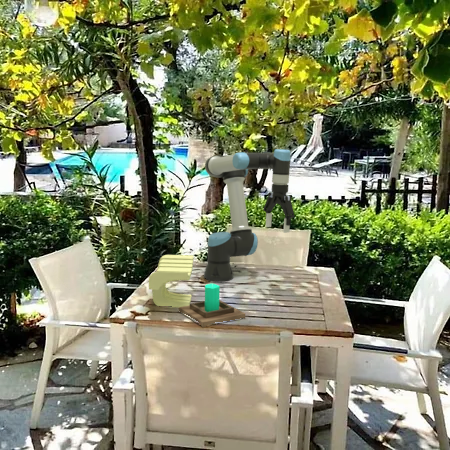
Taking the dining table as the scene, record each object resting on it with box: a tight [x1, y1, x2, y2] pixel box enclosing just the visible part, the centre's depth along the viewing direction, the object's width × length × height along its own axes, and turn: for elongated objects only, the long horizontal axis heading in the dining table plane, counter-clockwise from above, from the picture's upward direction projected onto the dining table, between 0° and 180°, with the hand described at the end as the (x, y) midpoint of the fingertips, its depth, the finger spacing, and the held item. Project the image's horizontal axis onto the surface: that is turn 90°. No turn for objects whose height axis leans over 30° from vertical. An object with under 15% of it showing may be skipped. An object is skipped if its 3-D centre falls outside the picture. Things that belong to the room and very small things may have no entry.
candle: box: [204, 281, 221, 312], centre depth 210 cm, size 6×6×12 cm
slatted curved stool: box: [148, 254, 195, 308], centre depth 225 cm, size 30×16×18 cm, turn 179°
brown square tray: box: [178, 299, 246, 328], centre depth 211 cm, size 20×20×4 cm
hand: (277, 229), depth 236 cm, fingers open, 13 cm apart
